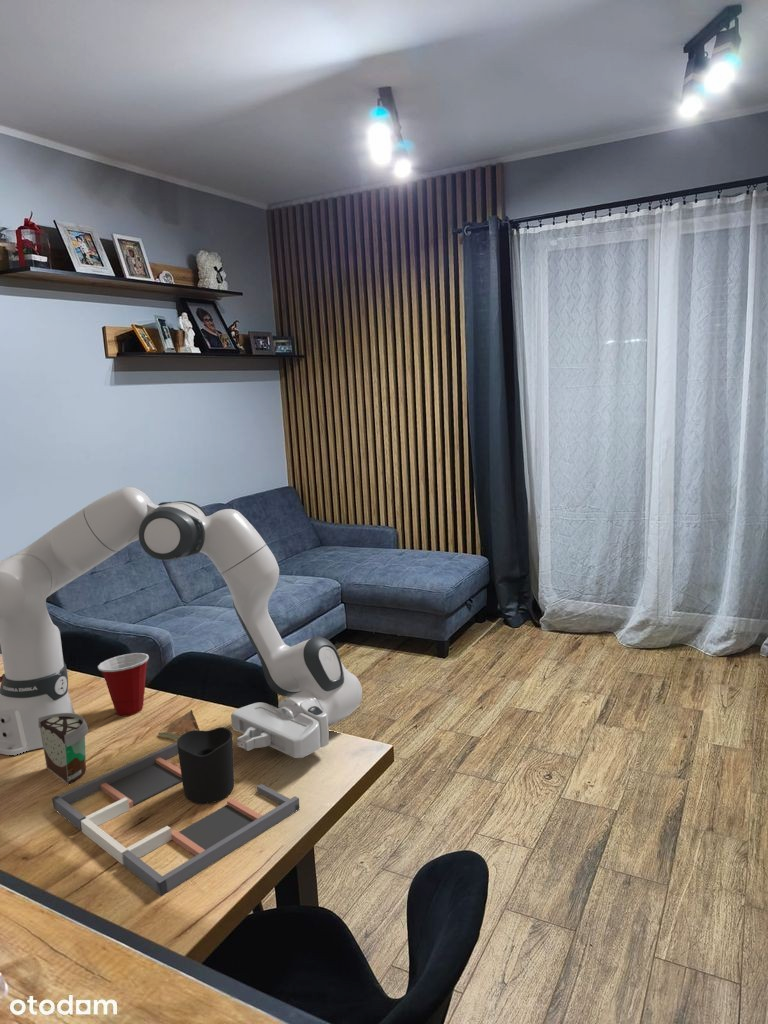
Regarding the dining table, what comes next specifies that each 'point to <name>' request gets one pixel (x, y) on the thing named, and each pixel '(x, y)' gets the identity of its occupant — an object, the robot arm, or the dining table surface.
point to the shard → (179, 726)
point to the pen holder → (206, 764)
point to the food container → (64, 745)
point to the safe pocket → (111, 844)
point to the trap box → (200, 838)
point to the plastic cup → (126, 681)
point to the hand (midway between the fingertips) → (241, 744)
